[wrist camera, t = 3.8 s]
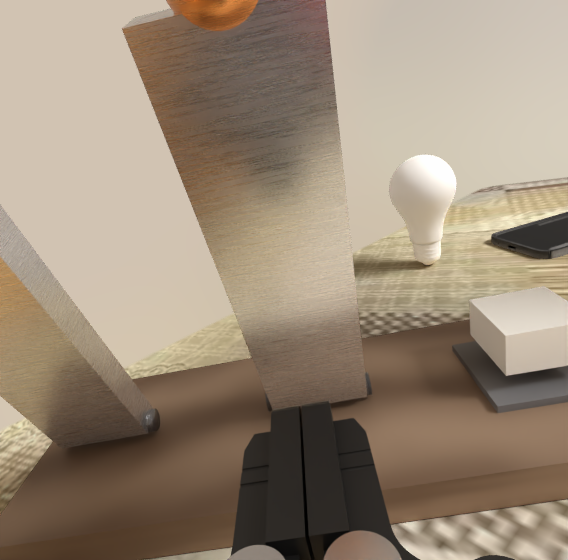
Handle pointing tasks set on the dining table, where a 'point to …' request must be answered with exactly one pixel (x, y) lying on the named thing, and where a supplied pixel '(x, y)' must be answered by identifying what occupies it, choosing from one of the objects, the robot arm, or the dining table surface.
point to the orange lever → (264, 179)
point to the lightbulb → (423, 202)
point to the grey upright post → (59, 357)
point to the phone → (537, 237)
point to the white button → (522, 329)
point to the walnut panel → (257, 419)
